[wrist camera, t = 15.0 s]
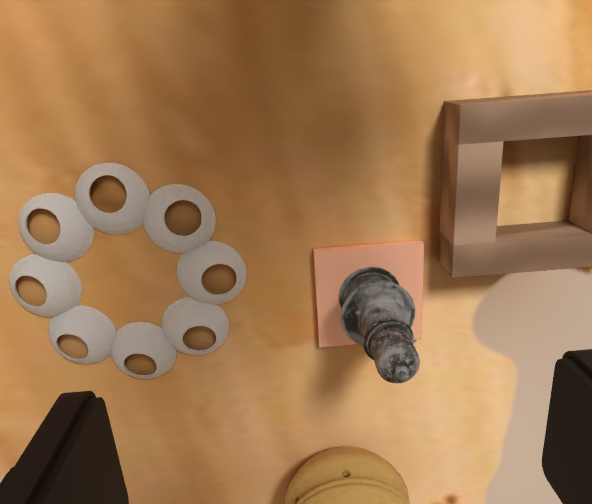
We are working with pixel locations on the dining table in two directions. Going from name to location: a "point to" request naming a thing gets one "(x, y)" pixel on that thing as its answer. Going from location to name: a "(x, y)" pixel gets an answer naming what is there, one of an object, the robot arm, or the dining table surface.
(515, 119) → the brown square wooden frame
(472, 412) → the dining table surface
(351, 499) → the pot
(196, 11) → the dining table surface
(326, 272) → the terracotta tile
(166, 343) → the paint palette
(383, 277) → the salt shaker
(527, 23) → the dining table surface
